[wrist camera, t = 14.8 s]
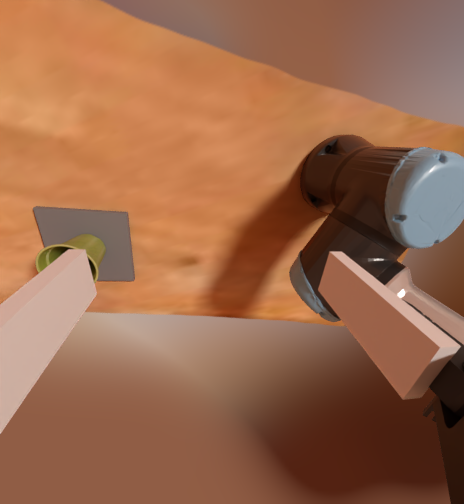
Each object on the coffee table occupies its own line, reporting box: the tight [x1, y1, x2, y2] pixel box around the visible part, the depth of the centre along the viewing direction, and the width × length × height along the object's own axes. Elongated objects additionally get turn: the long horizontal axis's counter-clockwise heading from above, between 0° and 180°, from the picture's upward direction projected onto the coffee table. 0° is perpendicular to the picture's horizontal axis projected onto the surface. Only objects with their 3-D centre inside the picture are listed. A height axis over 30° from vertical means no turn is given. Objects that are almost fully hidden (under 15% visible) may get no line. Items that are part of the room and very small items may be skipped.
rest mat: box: [33, 206, 135, 281], centre depth 45 cm, size 16×16×1 cm
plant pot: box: [35, 234, 106, 284], centre depth 41 cm, size 9×9×9 cm
